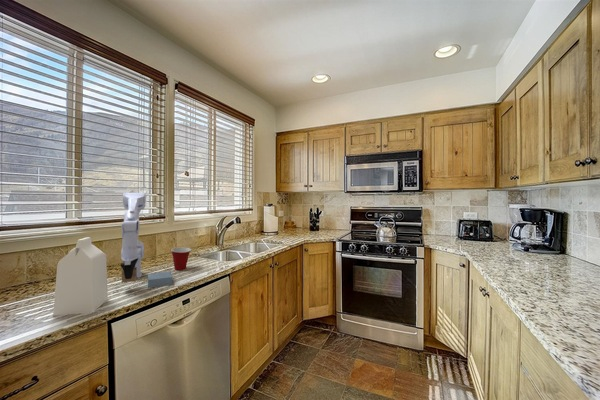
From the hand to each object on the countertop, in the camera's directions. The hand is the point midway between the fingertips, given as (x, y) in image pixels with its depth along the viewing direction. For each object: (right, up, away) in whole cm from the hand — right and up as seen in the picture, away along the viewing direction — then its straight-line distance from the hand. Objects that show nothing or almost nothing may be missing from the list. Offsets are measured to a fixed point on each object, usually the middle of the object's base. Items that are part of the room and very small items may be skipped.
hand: (129, 276), depth 111 cm
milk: (-5, -6, -18) cm, 19 cm away
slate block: (+8, -7, +10) cm, 14 cm away
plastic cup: (+7, -6, +33) cm, 35 cm away
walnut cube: (0, -2, 0) cm, 2 cm away
